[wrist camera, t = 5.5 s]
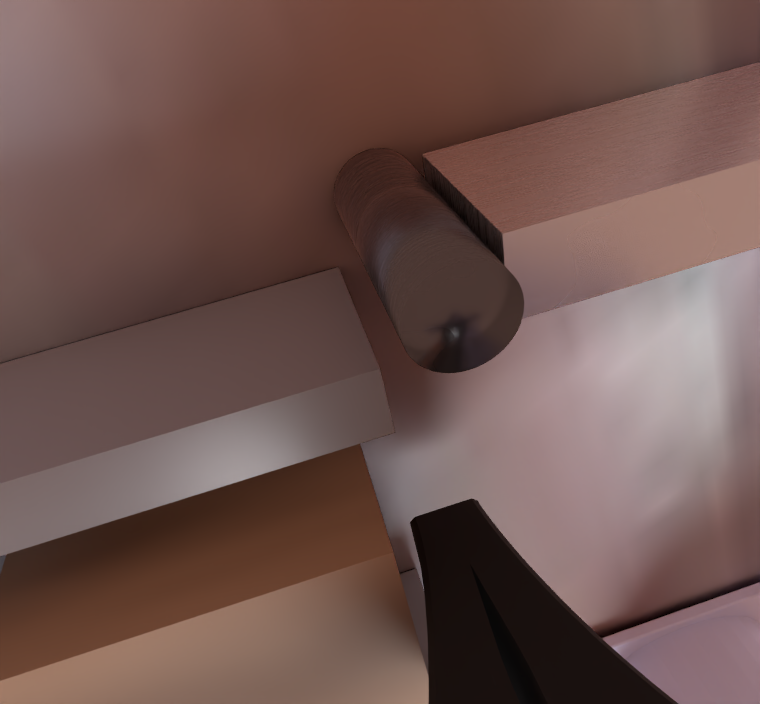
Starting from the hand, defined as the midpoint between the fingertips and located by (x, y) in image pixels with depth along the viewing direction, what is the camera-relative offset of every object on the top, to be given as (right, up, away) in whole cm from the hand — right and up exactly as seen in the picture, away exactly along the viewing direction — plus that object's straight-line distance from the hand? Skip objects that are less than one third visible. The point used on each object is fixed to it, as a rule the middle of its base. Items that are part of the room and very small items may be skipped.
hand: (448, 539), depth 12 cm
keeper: (+4, +8, -2) cm, 9 cm away
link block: (-5, 0, +1) cm, 5 cm away
